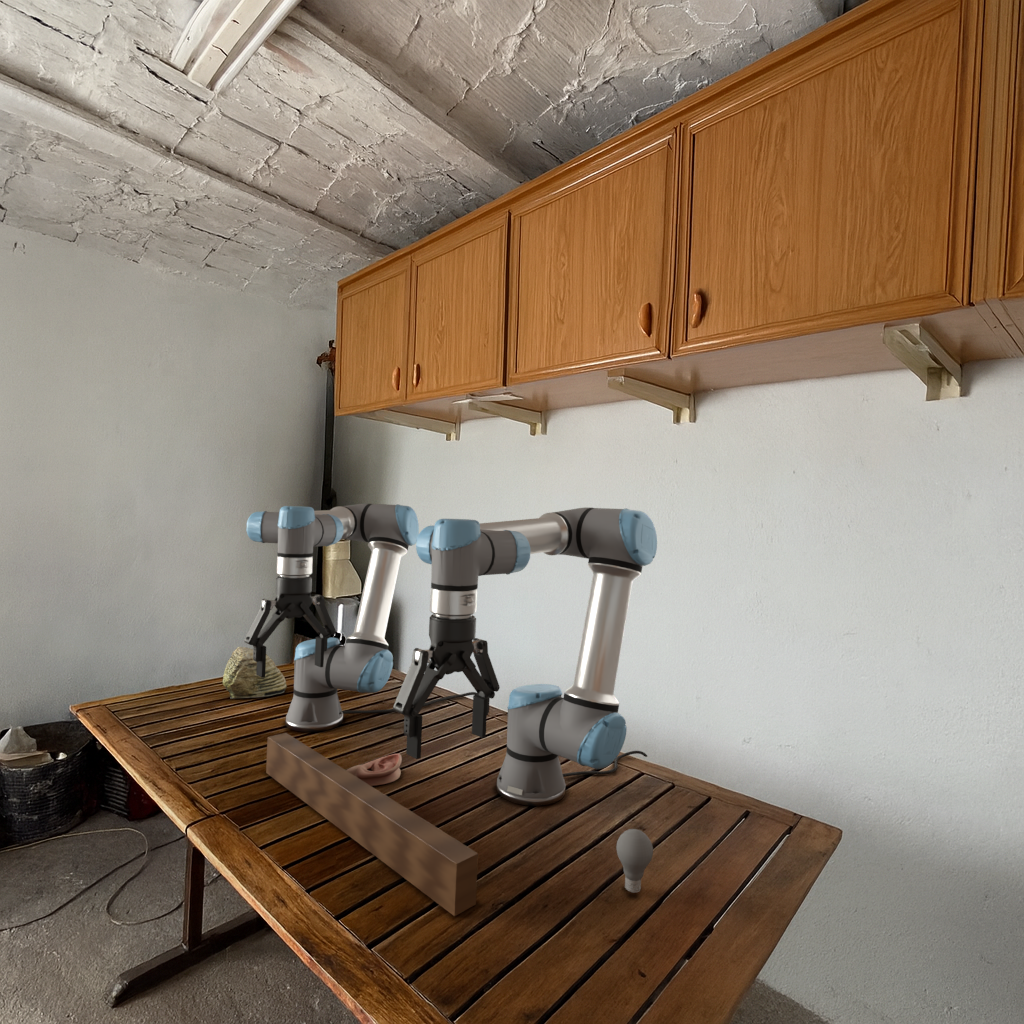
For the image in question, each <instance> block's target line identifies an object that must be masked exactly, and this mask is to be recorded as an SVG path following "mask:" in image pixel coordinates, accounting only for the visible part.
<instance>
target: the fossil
mask: <svg viewBox="0 0 1024 1024" xmlns="http://www.w3.org/2000/svg"><path fill="white" fill-rule="evenodd" d="M256 671H257V662H256V661H254V660H253V648H251V647H247V646H246V647H245V646H238V647H237V648H236V649H235V650H233V651H232V653H231V656H230V657H229V659H228V660H227V663H226V666H225V668H224V671H223V675H222V676H223V677H222V685H223V687H224V688H225V690H226V691H228V693H229V698H230V699H250V698H264V697H271V696H275V695H281V694H284V693H285V691H286V689H287V687H288V686H287V680H286V678H285V676H284V674H283V673H282V672H281V669H279V668H278V667H277V665H276V663H275V662H274V660H273V659H272V658H271V657H270V656H269V655H268V654H267V653H266V669H265V677H260V676H258V675H256Z"/></svg>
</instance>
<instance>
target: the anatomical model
mask: <svg viewBox="0 0 1024 1024" xmlns="http://www.w3.org/2000/svg"><path fill="white" fill-rule="evenodd" d="M402 761H403V757H402V754H400V753H393V754H389V755H385V756H382V757H378V758H376V759H373V760H371V761H368V762H364V763H362V764H358V765H354V766H352V767H349V768H347V769H345V770H346V771H348V772H349V773H351V774H353V775H354V776H356V777H357V778H359V779H360V780H362V781H364V782H365V783H367V784H368V785H370V786H372V787H373V786H380V785H385V784H390V783H393V782H395V781H397V780H398V779H399V778H400V776H401V775H402V773H401V772H402V771H401V768H400V767H401V765H402Z"/></svg>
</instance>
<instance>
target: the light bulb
mask: <svg viewBox="0 0 1024 1024" xmlns="http://www.w3.org/2000/svg"><path fill="white" fill-rule="evenodd" d="M615 849H616V854H617V857H618V859H619V861H620V863H621V865H622V867H623V873H624V874H623V875H624V876H625V878H624V888H625V890H627V891H628V892H630V893H634V894H635V893H639V892H640V891H641V889H642V887H641V886H642V879H643V877H644V875H645V871H646V868H647V867H648V866H649V864H650V863H651V861H652V859H653V855H654V847H653V843H652V841H651V838H649V836H648V835H647V834H646V833H645V832H643V831H642V830H641V829H636V828H629V829H627V830H625V831H623V832H622V833H621V834H620V835H619V837H618V839H617V841H616V847H615Z"/></svg>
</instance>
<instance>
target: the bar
mask: <svg viewBox="0 0 1024 1024" xmlns="http://www.w3.org/2000/svg"><path fill="white" fill-rule="evenodd" d="M266 739H267V741H266V764H265V765H266V766H265V773H266V774H267V775H268V776H269V777H271V778H272V779H274V780H275V781H276V782H277V783H279V784H280V785H281V786H282V787H284V788H285V789H287V790H288V791H289V792H290V793H292V794H293V795H294V796H295V797H297V798H298V799H299V800H301V801H302V802H304V803H305V804H306V805H308V806H309V807H310V808H312V809H313V810H314V811H316V812H317V813H318V814H320V815H321V816H322V817H323V818H325V819H326V820H327V821H328V822H330V823H331V824H332V825H334V826H335V827H336V828H338V829H339V830H340V831H342V832H343V833H344V834H346V835H347V836H348V837H350V838H351V839H352V840H353V841H354V842H356V843H358V844H359V845H360V846H361V847H362V848H364V849H366V850H367V851H368V852H369V853H371V854H372V855H373V856H375V857H376V858H377V859H378V860H380V861H381V862H382V863H384V864H385V865H386V866H388V867H389V868H390V869H392V870H393V871H394V872H395V873H397V874H398V875H399V876H401V877H402V878H404V880H406V881H407V882H409V883H410V884H411V885H413V886H414V887H415V888H416V889H418V890H419V891H420V892H421V893H423V894H424V895H426V896H427V897H428V898H430V899H431V900H432V901H433V902H435V903H436V904H437V905H439V906H440V907H441V908H442V909H444V910H445V911H447V912H448V913H449V914H451V916H453V917H456V916H458V915H460V914H462V913H463V912H465V911H467V910H468V909H471V908H473V906H476V905H477V888H478V887H477V886H478V883H477V882H478V865H479V864H478V863H479V852H476V851H475V850H474V849H473V848H470V847H469V846H467V845H466V844H464V843H462V842H460V841H459V840H457V839H456V838H454V837H453V836H451V835H450V834H448V833H446V832H445V831H443V830H442V829H440V828H438V827H437V826H435V825H434V824H433V823H430V822H429V821H428V820H426V819H424V818H422V817H421V816H419V815H418V814H416V813H415V812H414V811H411V810H410V809H408V808H407V807H405V806H404V805H403V804H400V803H399V802H397V801H395V800H394V799H393V798H391V797H389V796H388V795H386V794H384V793H383V792H381V791H380V790H378V789H377V788H375V787H373V786H370V785H368V784H367V783H365V782H364V781H362V780H360V779H359V778H357V777H356V776H354V775H353V774H351V773H349V772H348V771H346V770H347V769H345V768H343V767H342V766H340V765H338V764H336V763H335V762H334V761H332V760H330V759H328V758H327V757H326V756H324V755H322V754H321V753H319V752H317V751H316V750H315V749H313V748H311V747H310V746H308V745H307V744H305V743H303V742H302V741H301V740H299V739H297V738H295V737H294V736H292V735H291V734H289V733H287V732H283V733H278V734H275V735H270V736H267V738H266Z"/></svg>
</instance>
